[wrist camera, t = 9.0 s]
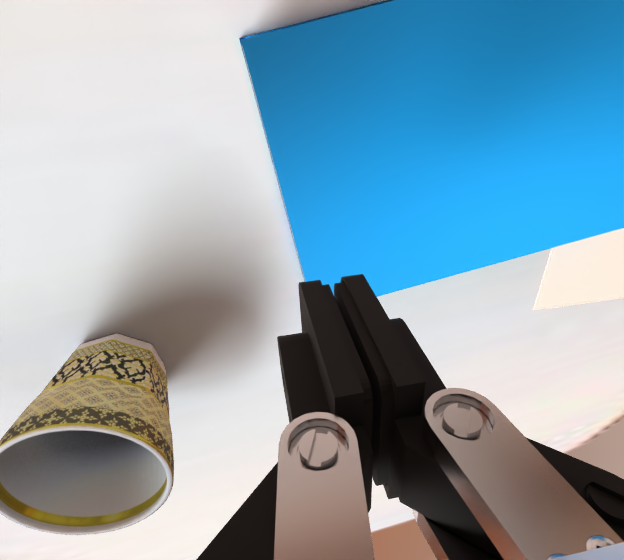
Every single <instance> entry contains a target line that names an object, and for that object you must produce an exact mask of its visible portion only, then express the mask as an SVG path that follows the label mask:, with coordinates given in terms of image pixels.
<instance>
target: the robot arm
mask: <svg viewBox="0 0 624 560" xmlns="http://www.w3.org/2000/svg"><path fill="white" fill-rule="evenodd" d="M299 297H300V310H301V323H302V333H298V334H292V335H285V336H279V337H277V339H278V348H279V357H280V365H281V372H282V379H283V386H284V392H285V398H286V404H287V410H288V416H289V422H290V424H288V425H287V426H286V428H285V430H284V431H283V433H282V434H281V438H280V442H279V453H278V463H277V464H276V465H275V466H274V467H273V469H272V470H271V471H270V472H269V473H268V475H267V476H266V477H265V478H264V479H263V481H262V482H261V483H260V484H259V485H258V487H257V488H256V489H255V490H254V491H253V493H252V494H251V495H250V496H249V497H248V499H247V500H246V501H245V502H244V503H243V505H242V506H241V507H240V508H239V509H238V511H237V512H236V513H235V514H234V515H233V517H232V518H231V519H230V520H229V521H228V523H227V524H226V525H225V526H224V527H223V529H222V530H221V531H220V532H219V533H218V535H217V536H216V537H215V538H214V539H213V541H212V542H211V543H210V544H209V545H208V547H207V548H206V549H205V550H204V551H203V553H202V554H201V555H200V556H199V557H198V559H197V560H375V558H374V551H373V544H372V537H371V530H370V523H369V517H368V512H369V511H370V509H371V491H372V477H373V480H374V483H375V484H376V486H378V485H382V484H383V485H384V488H385V491H386V494H387V497H388V499H392V498H396V497H399V500H400V502H401V503H403V504H405V505H406V506H408V507H410V508H412V509H413V514H414V517H415V520H416V522H417V524H418V526H419V528H420V530H421V531H422V533H423V535H424V537H425V539H426V540H427V542H428V544H429V546H430V548H431V549H432V551H433V553H434V555H435V557H436V558H437V560H624V479H622V478H620V477H618V476H616V475H614V474H612V473H610V472H607V471H605V470H603V469H600V468H598V467H595V466H593V465H590V464H588V463H586V462H583V461H581V460H579V459H576V458H573V457H571V456H569V455H567V454H564V453H562V452H559V451H557V450H555V449H552V448H550V447H547V446H545V445H543V444H540V443H538V442H535V441H533V440H531V439H528V438H526V437H524V436H523V434H522V433H521V432H520V431H519V430H518V429H517V428H516V427H515V426H514V425H513V424H512V423H511V422H510V421H509V420H508V419H507V418H506V416H505V415H504V414H503V413H502V412H501V411H500V410H499V409H498V408H497V407H496V406H495V405H494V404H493V403H492V402H490V401H489V400H488V399H487V398H486V397H484V396H482V395H480V394H478V393H476V392H473V391H470V390H466V389H461V388H448V389H446V387H445V386H444V384H443V382H442V381H441V379H440V378H439V376H438V374H437V373H436V371H435V370H434V368H433V366H432V365H431V363H430V362H429V360H428V358H427V357H426V355H425V354H424V352H423V350H422V349H421V347H420V346H419V344H418V342H417V341H416V339H415V338H414V336H413V335H412V333H411V331H410V330H409V328H408V327H407V325H406V323H405V322H404V321H403V320H402V319H401V318H397V319H389V318H388V316H387V314H386V313H385V311H384V309H383V307H382V306H381V304H380V302H379V300H378V299H377V297H376V295H375V294H374V292H373V290H372V288H371V287H370V285H369V283H368V281H367V280H366V278H365V276H364V275H363V274H359V275H351V276H344V277H341V283H335V284H334V295H333V293H332V290H331V288H330V286H329V284H326V285H322V283H321V281H320V280H315V281H307V282H300V283H299Z"/></svg>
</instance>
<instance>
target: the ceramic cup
mask: <svg viewBox="0 0 624 560" xmlns="http://www.w3.org/2000/svg"><path fill="white" fill-rule="evenodd" d="M173 474H174V460H173V444H172V433H171V427H170V421H169V404H168V392H167V377H166V368H165V365H164V363H163V362H162V360H161V358H160V357H159V355H158V353H157V352H156V350H155V348H154V347H153V345H152V344H150V343H147V342H144V341H140V340H137V339H134V338H130V337H127V336H124V335H121V334H112V335H109V336H106V337H102V338H99V339H96V340H92V341H89V342H86V343H83V344H81V345H79V347H78V348H77V349H76V350H75V351H74V352H73V353H72V355H71V356H70V357H69V359H68V360H67V361H66V363H65V364H64V365H63V366H62V367H61V369H60V370H59V371H58V372H57V374H56V375H55V376H54V377H53V378H52V380H51V381H50V382H49V383H48V385H47V386H46V387H45V389H44V390H43V391H42V393H41V394H40V395H39V396H38V397H37V398H36V399H35V400H34V401H33V402H32V403H31V404H30V405H29V406H28V407H27V408H26V409H25V410H24V412H23V413H22V414H21V415H20V417H19V418H18V419H17V420H16V421H15V423H14V424H13V425H12V426H11V427H10V429H9V430H8V431H7V432H6V434H5V435H4V436H3V438H2V439H1V440H0V514H2V515H3V516H5V517H6V518H8V519H10V520H12V521H14V522H16V523H18V524H21V525H23V526H26V527H28V528H32V529H35V530H39V531H43V532H49V533H55V534H65V535H86V534H97V533H104V532H109V531H114V530H118V529H121V528H124V527H127V526H130V525H133V524H135V523H137V522H139V521H141V520H143V519H145V518H147V517H148V516H150V515H151V514H153V513H154V512H155V511H157V510H158V509H159V508H160V507H161V506H162V505H163V504H164V502H165V501H166V500H167V498H168V496H169V495H170V492H171V489H172V486H173Z"/></svg>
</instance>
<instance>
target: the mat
mask: <svg viewBox="0 0 624 560" xmlns="http://www.w3.org/2000/svg"><path fill="white" fill-rule="evenodd" d="M621 298H624V228H622V229H618V230H615V231H611V232H608V233H604V234H600V235H597V236H593V237H590V238H586V239H582V240H579V241H575V242H572V243H568V244H564V245H561V246H557V247H554V248H551V251H550V254H549V257H548V261H547V264H546V267H545V271H544V274H543V277H542V280H541V284H540V287H539V290H538V294H537V297H536V300H535V303H534V307H533V310H541V309H548V308H555V307H563V306H570V305H577V304H584V303H592V302H599V301H606V300H614V299H621Z"/></svg>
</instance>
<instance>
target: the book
mask: <svg viewBox="0 0 624 560" xmlns="http://www.w3.org/2000/svg"><path fill="white" fill-rule="evenodd" d="M239 39H240V43H241V46H242V50H243V54H244V57H245V61H246V65H247V69H248V72H249V76H250V80H251V83H252V87H253V91H254V95H255V98H256V102H257V106H258V109H259V113H260V117H261V121H262V124H263V128H264V132H265V136H266V139H267V143H268V147H269V150H270V154H271V158H272V162H273V165H274V169H275V173H276V176H277V180H278V184H279V188H280V191H281V195H282V199H283V202H284V206H285V210H286V214H287V217H288V221H289V225H290V229H291V232H292V236H293V240H294V243H295V247H296V251H297V255H298V258H299V262H300V266H301V269H302V273H303V277H304V281H305V282H307V281H315V280H320V281H321V283H322V285H326V284H329V286H330V288H331V290H332V293H333V295H334V284H335V283H341V277H344V276H351V275H359V274H363V275H364V276H365V278H366V280H367V281H368V283H369V285H370V287H371V288H372V290H373V292H374V294H375V295H376V297H377V296H381V295H384V294H388V293H391V292H395V291H399V290H402V289H406V288H409V287H413V286H417V285H420V284H424V283H427V282H431V281H435V280H438V279H442V278H445V277H449V276H453V275H456V274H460V273H463V272H467V271H471V270H474V269H478V268H481V267H485V266H489V265H492V264H496V263H499V262H503V261H507V260H510V259H514V258H517V257H521V256H525V255H528V254H532V253H535V252H539V251H543V250H546V249H550V248H554V247H557V246H561V245H564V244H568V243H572V242H575V241H579V240H582V239H586V238H590V237H593V236H597V235H600V234H604V233H608V232H611V231H615V230H618V229H622V228H624V0H387V1H383V2H379V3H375V4H371V5H367V6H363V7H360V8H356V9H352V10H348V11H344V12H340V13H336V14H332V15H328V16H325V17H321V18H317V19H313V20H309V21H305V22H301V23H297V24H293V25H289V26H286V27H282V28H278V29H274V30H270V31H266V32H262V33H258V34H254V35H250V36H247V37H243V38H239Z"/></svg>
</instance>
